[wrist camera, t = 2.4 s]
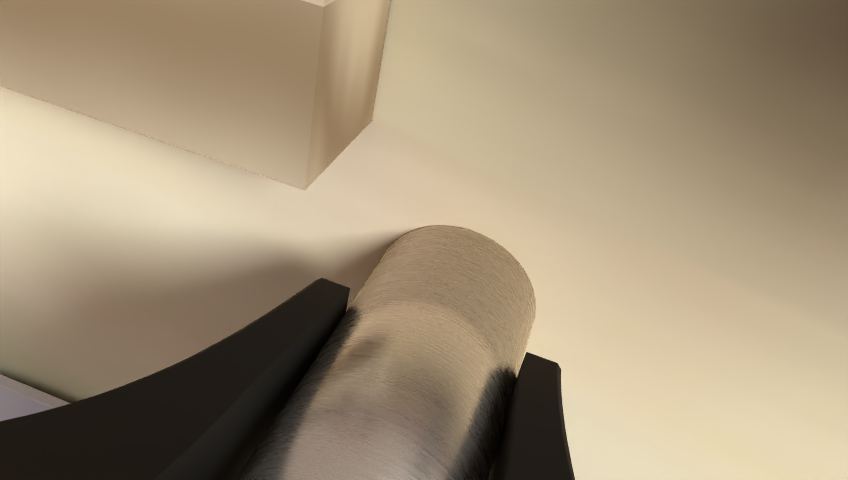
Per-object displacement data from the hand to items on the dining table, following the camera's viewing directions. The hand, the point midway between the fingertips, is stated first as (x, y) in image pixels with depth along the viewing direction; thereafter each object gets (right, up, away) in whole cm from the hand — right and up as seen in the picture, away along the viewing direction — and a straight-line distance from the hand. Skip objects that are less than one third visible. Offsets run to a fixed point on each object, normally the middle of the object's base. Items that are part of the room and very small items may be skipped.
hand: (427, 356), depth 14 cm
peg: (+1, +1, +2) cm, 2 cm away
